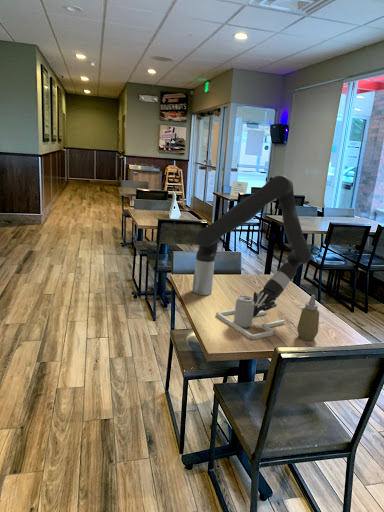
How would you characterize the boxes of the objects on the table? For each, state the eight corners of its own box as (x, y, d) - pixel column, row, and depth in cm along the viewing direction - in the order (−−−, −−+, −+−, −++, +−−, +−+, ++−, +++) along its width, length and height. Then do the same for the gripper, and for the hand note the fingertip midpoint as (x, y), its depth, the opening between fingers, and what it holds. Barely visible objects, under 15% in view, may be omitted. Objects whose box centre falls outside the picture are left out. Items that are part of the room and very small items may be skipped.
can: (255, 326, 161) (258, 299, 158) (243, 330, 156) (246, 302, 153) (241, 319, 166) (245, 293, 163) (229, 323, 161) (232, 296, 158)
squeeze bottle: (313, 344, 148) (321, 301, 144) (293, 338, 152) (299, 295, 148) (319, 337, 155) (326, 295, 151) (299, 331, 159) (305, 290, 155)
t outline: (256, 308, 180) (257, 305, 180) (294, 329, 160) (295, 326, 160) (216, 315, 168) (216, 312, 168) (251, 339, 148) (252, 336, 148)
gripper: (262, 274, 169) (237, 304, 165) (284, 283, 158) (258, 316, 155) (270, 284, 173) (246, 314, 169) (292, 294, 162) (266, 326, 159)
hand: (252, 315), depth 162 cm, fingers closed
